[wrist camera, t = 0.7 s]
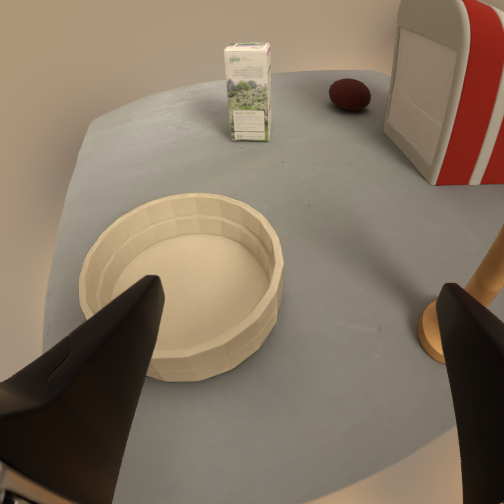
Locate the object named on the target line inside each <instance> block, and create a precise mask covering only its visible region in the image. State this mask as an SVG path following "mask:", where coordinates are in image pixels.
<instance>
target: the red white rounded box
mask: <svg viewBox="0 0 504 504" xmlns="http://www.w3.org/2000/svg"><path fill="white" fill-rule="evenodd" d="M383 132H384V133H385V134H386V135H387V136H388V137H389V138H390V139H391V140H392V141H393V142H394V144H395V145H396V146H397V147H398V148H399V149H400V150H401V151H402V152H403V154H404V155H405V156H406V157H407V158H408V159H409V160H410V162H411V163H412V164H413V165H414V166H415V167H416V169H417V170H418V171H419V172H420V173H421V175H422V176H423V177H424V178H425V179H426V181H427V182H428V183H429V184H431V185H466V184H468V185H479V184H504V12H503V11H501V10H499V9H497V8H495V7H493V6H491V5H489V4H486V3H485V2H482V1H480V0H401V3H400V6H399V10H398V17H397V28H396V38H395V49H394V59H393V66H392V76H391V82H390V90H389V97H388V103H387V110H386V116H385V122H384V128H383Z"/></svg>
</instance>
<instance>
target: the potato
mask: <svg viewBox="0 0 504 504" xmlns="http://www.w3.org/2000/svg"><path fill="white" fill-rule="evenodd" d="M329 96H330V99H331V101H332V102H333V103H334V104H335V105H336V106H338V107H340V108H342V109H346V110H353V111H356V110H360V109H363V108H365V107H366V106H367V105H368V104H369V103H370V100H371V94H370V91H369V89H368V88H367V87H366V86H365V85H364V84H363V83H362V82H360V81H358V80H355V79H341V80H338V81H335V82H334V83H333V84H332V85H331V86H330V89H329Z"/></svg>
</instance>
